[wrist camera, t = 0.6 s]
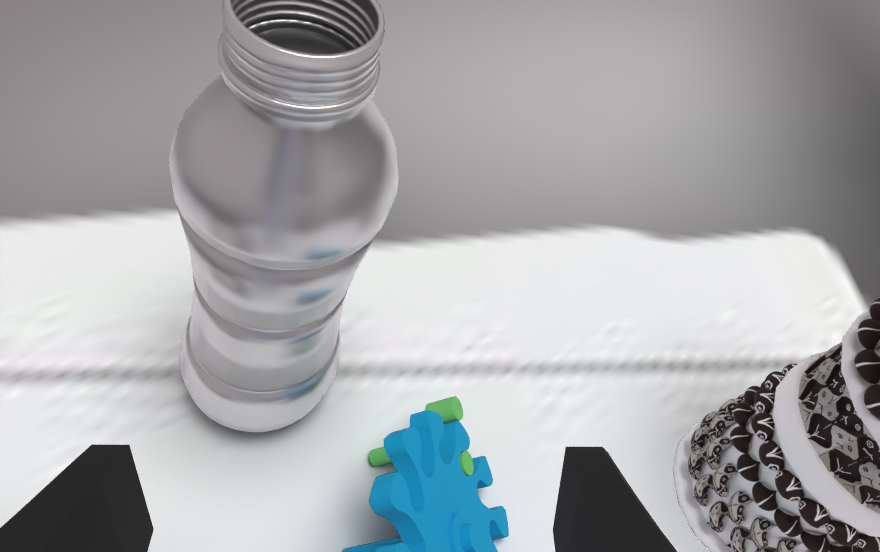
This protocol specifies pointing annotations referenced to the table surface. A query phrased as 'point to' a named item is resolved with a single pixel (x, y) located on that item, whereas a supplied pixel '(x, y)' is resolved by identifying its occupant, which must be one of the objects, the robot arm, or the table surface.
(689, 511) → the decorative candle
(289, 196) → the plastic bottle
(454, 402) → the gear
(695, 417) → the table surface
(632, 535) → the robot arm
